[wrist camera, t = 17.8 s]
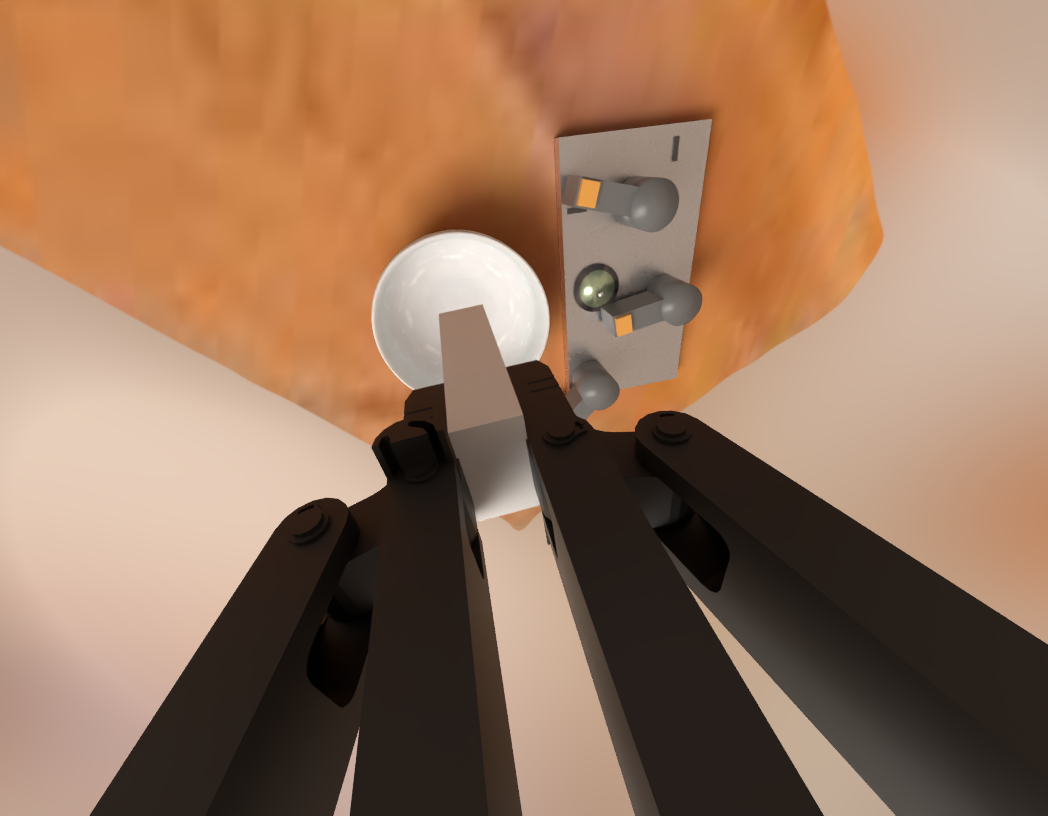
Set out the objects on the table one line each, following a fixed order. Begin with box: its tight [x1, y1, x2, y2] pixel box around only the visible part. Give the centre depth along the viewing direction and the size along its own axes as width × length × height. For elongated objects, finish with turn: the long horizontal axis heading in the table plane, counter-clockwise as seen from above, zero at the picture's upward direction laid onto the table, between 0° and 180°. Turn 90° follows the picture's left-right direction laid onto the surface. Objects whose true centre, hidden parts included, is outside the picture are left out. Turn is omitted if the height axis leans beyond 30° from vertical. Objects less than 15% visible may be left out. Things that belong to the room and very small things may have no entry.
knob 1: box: [565, 361, 620, 420], centre depth 47 cm, size 10×4×4 cm, turn 141°
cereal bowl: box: [371, 229, 550, 390], centre depth 39 cm, size 17×17×7 cm
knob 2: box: [562, 175, 679, 233], centre depth 36 cm, size 10×4×4 cm, turn 81°
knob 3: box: [601, 275, 702, 337], centre depth 42 cm, size 10×4×4 cm, turn 105°
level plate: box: [554, 119, 712, 393], centre depth 43 cm, size 28×15×2 cm, turn 6°
